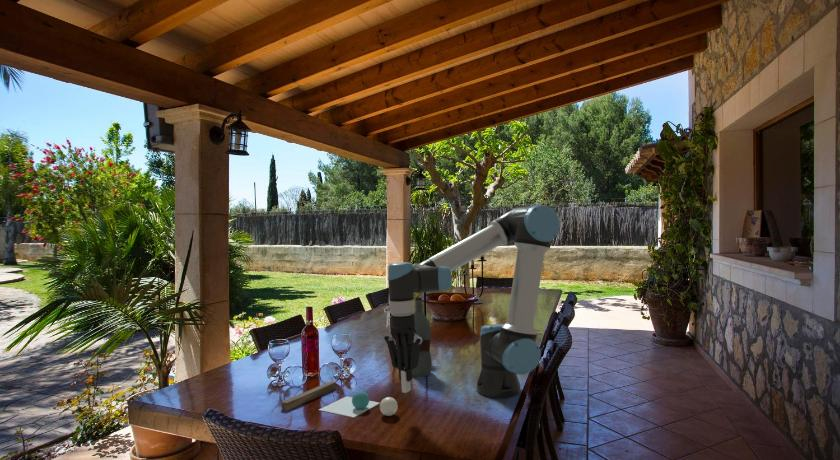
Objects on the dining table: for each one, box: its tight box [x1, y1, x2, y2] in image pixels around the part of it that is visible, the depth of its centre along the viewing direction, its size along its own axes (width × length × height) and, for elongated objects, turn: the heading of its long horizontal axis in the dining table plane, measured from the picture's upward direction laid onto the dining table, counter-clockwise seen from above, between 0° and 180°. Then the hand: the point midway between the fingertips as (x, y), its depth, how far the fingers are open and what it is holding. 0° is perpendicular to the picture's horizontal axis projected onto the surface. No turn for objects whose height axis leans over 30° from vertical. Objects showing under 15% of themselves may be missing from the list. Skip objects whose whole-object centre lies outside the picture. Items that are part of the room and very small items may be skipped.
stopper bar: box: [281, 381, 337, 412], centre depth 173 cm, size 2×24×2 cm, turn 150°
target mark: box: [318, 395, 381, 418], centre depth 164 cm, size 14×14×1 cm
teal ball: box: [351, 390, 370, 409], centre depth 162 cm, size 6×6×6 cm
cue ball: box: [379, 396, 399, 417], centre depth 156 cm, size 6×6×6 cm
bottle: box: [412, 296, 433, 377], centre depth 200 cm, size 9×9×30 cm
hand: (406, 391), depth 154 cm, fingers closed
